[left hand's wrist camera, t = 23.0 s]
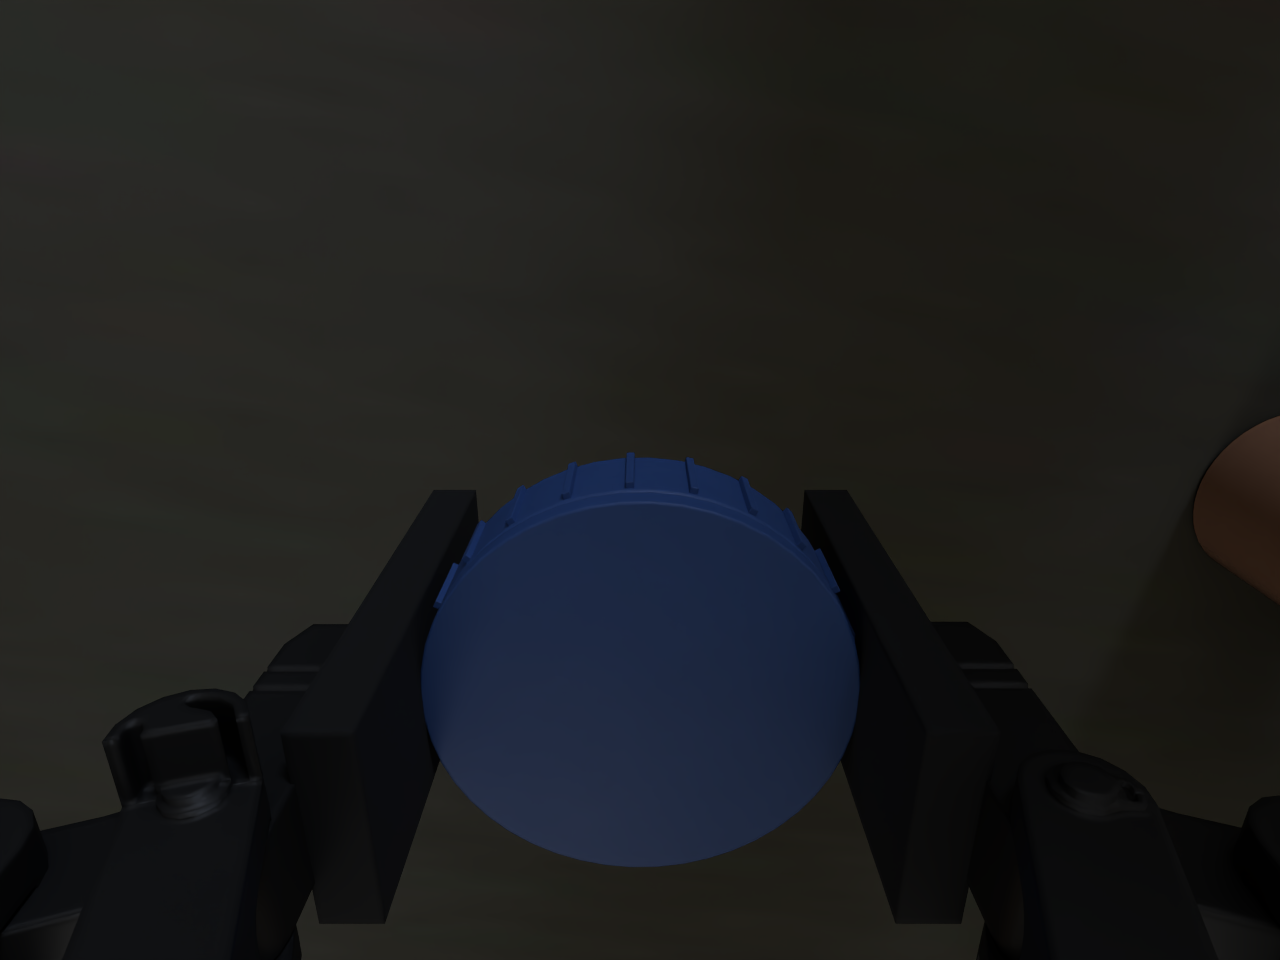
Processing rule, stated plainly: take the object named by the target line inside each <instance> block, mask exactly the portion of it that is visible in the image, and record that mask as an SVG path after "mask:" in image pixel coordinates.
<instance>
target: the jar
mask: <svg viewBox="0 0 1280 960" xmlns="http://www.w3.org/2000/svg"><path fill="white" fill-rule="evenodd" d="M1193 524H1194V529H1195V533H1196V536H1197V538H1198V541H1199V543H1200V545H1201V546H1202V548H1203V550H1204V551H1205V552H1206V553H1207V554H1208V555H1209V557H1211V558H1212V559H1213V560H1214V561H1216V562H1217V563H1218V564H1220V565H1221V566H1223V567H1224V568H1226V569H1227V570H1228V571H1230V572H1231V573H1233V574H1234V575H1236V576H1237V577H1239V578H1240V579H1242V580H1243V581H1244V582H1246V583H1247V584H1249V585H1250V586H1252V587H1253V588H1255V589H1256V590H1258V591H1259V592H1261V593H1262V594H1263V595H1265V596H1266V597H1268V598H1269V599H1271V600H1272V601H1274V602H1275V603H1277V604H1278V605H1279V606H1280V416H1277V417H1274V418H1271V419H1269V420H1266V421H1264V422H1262V423H1260V424H1258V425H1256V426H1254V427H1252V428H1251V429H1249V430H1248V431H1246V432H1244V433H1243V434H1241V435H1240V436H1239V437H1238V438H1236V439H1235V440H1234V441H1232V442H1231V443H1230V444H1229V445H1228V446H1227V447H1226V448H1225V449H1224V450H1223V451H1222V452H1221V453H1220V454H1219V455H1218V457H1217V458H1216V459H1215V460H1214V461H1213V463H1212V464H1211V466H1210V467H1209V468H1208V470H1207V471H1206V473H1205V475H1204V477H1203V479H1202V481H1201V483H1200V485H1199V488H1198V490H1197V493H1196V497H1195V501H1194V508H1193Z"/></svg>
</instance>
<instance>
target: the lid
mask: <svg viewBox="0 0 1280 960" xmlns="http://www.w3.org/2000/svg"><path fill="white" fill-rule="evenodd" d="M838 592H840V589H839V587H838V585H837V583H836V581H835V578H834V576H833V574H832V572H831V570H830V568H829V566H828V563H827V561H826V559H825V557H824V555H823V553H822V551H821V549H820V548H819V549H817V550H815V551H814V549H813V547H812V546H811V544H810V542H809V540H808V539H807V538H806V537H805V535H804V534H803V533H802V532H801V530H800V529H799V527H798V525H797V523H796V521H795V518H794V516H793V514H792V512H791V511H790V510H789V509H788V508H786V509H785V510H784V511H782V510H781V509H780V508H779V507H778V506H777V505H776V504H775V503H773V502H772V501H770V500H769V499H767V498H766V497H765V496H763V495H762V494H760V493H759V492H758V491H756V490H755V489H753V488H751V487H750V485H749V482H748V479H746V478H744V477H743V476H741V477H740V479H739V480H736V479H734V478H732V477H731V476H728V475H725V474H723V473H720V472H717V471H715V470H712V469H709V468H706V467H703V466H699V465H695V464H694V459H693V458H689V457H686V460H685V462H682V461H677V460H667V459H658V458H635V454H634V453H627V458H620V459H613V460H606V461H599V462H593V463H590V464H586V465H582V466H579V467H578V466H577V464H576V462H573V463H570V464H569V465H568V469H567V470H566V471H563V472H561V473H558V474H556V475H553V476H551V477H549V478H546V479H544V480H542V481H540V482H539V483H537V484H535V485H533V486H532V487H530V488H528V489H526V488H525V487H524V486H523V485H522V486H521V487H519V488H518V489H517V491H516V494H515V496H514V498H513V499H512V500H511V501H509V502H508V503H507V504H505V505H504V506H503V507H502V508H500V509H499V510H498V511H497V512H496V513H495V514H494V515H493V517H492V518H491V519H490V520H489V521H488V522H487V523H485V522H483V521H482V520H481V521H480V522H479V523H478V524H477V526H476V529H475V531H474V533H473V535H472V537H471V540H470V542H469V544H468V546H467V548H466V551H465V553H464V555H463V557H462V559H461V561H460V563H459V565H458V564H456V563H453V565H452V567H451V569H450V571H449V573H448V575H447V578H446V580H445V582H444V584H443V586H442V588H441V590H440V592H439V595H438V597H437V599H436V601H435V603H434V606H433V607H434V608H437V609H438V611H437V613H436V616H435V618H434V620H433V623H432V625H431V628H430V631H429V634H428V637H427V640H426V643H425V647H424V652H423V658H422V664H421V692H422V701H423V709H424V717H425V723H426V726H427V729H428V733H429V736H430V739H431V742H432V744H433V746H434V748H435V750H436V752H437V754H438V757H439V759H440V761H441V763H442V764H443V766H444V767H445V769H446V770H447V772H448V773H449V775H450V776H451V778H452V779H453V781H454V782H455V783H456V785H457V786H458V787H459V788H460V789H461V790H462V792H463V793H464V794H465V795H466V796H467V797H468V798H469V800H470V801H471V802H473V803H474V804H475V805H476V806H477V807H478V808H479V809H480V810H482V811H483V812H484V813H485V814H486V815H487V816H488V817H490V818H491V819H492V820H494V821H495V822H497V823H498V824H500V825H501V826H502V827H504V828H505V829H507V830H508V831H510V832H512V833H513V834H515V835H517V836H519V837H521V838H523V839H525V840H526V841H528V842H530V843H532V844H534V845H537V846H539V847H542V848H544V849H547V850H549V851H552V852H554V853H557V854H560V855H564V856H567V857H571V858H574V859H578V860H582V861H587V862H593V863H598V864H603V865H613V866H625V867H659V866H668V865H677V864H684V863H689V862H694V861H698V860H703V859H708V858H711V857H714V856H717V855H720V854H723V853H726V852H729V851H732V850H735V849H737V848H739V847H741V846H744V845H746V844H748V843H750V842H753V841H755V840H757V839H759V838H760V837H762V836H764V835H765V834H767V833H769V832H771V831H772V830H774V829H776V828H777V827H779V826H780V825H782V824H783V823H784V822H786V821H787V820H788V819H790V818H791V817H792V816H794V815H795V814H796V813H798V812H799V811H800V810H801V809H802V808H803V807H804V806H805V805H806V804H807V803H808V802H809V801H810V800H811V799H812V798H813V797H814V796H815V795H816V794H817V793H818V792H819V790H820V789H821V788H822V787H823V785H824V784H825V783H826V782H827V780H828V779H829V778H830V777H831V775H832V773H833V772H834V770H835V768H836V767H837V765H838V763H839V762H840V760H841V759H842V757H843V755H844V752H845V750H846V748H847V745H848V743H849V741H850V738H851V736H852V733H853V729H854V725H855V721H856V714H857V706H858V698H859V689H860V665H859V659H858V654H857V649H856V645H855V633H854V630H853V628H852V626H851V624H850V622H849V620H848V617H847V615H846V613H845V611H844V609H843V606H842V604H841V602H840V600H839V598H838V595H837V594H835V593H838Z"/></svg>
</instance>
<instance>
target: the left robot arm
mask: <svg viewBox="0 0 1280 960" xmlns="http://www.w3.org/2000/svg"><path fill="white" fill-rule="evenodd" d="M478 523H479V522H478V510H477V498H476V490H434V491H433V492H432V494H431V495H430V497H429V498H428V500H427V502H426V503H425V505H424V506H423V508H422V510H421V511H420V513H419V514H418V516H417V517H416V519H415V521H414V522H413V524H412V525H411V527H410V528H409V530H408V532H407V533H406V535H405V536H404V538H403V539H402V541H401V543H400V544H399V546H398V547H397V549H396V550H395V552H394V554H393V555H392V557H391V558H390V560H389V561H388V563H387V565H386V566H385V568H384V569H383V571H382V573H381V574H380V576H379V577H378V579H377V580H376V582H375V584H374V585H373V587H372V588H371V590H370V591H369V593H368V595H367V596H366V598H365V599H364V601H363V602H362V604H361V606H360V607H359V609H358V610H357V612H356V613H355V615H354V617H353V618H352V620H351V621H350V623H349V624H313V625H312V626H310V627H309V628H307V629H306V630H304V631H303V632H302V633H300V634H299V635H297V636H296V637H294V638H293V639H291V640H290V641H288V642H287V643H286V644H284V646H283V647H282V648H281V650H280V651H279V652H278V654H277V655H276V656H275V658H274V659H273V660H272V662H271V663H270V665H269V666H268V670H267V672H264V673H263V674H262V675H261V677H260V678H259V679H258V681H257V682H256V683H255V685H254V686H253V691H249V693H248V694H247V695H246V697H245V698H244V700H243V699H242V698H241V697H240V696H238V695H237V694H236V693H234V692H229V691H224V690H220V689H201V690H189V691H185V692H181V693H178V694H174V695H170V696H166V697H163V698H160V699H158V700H156V701H154V702H152V703H149V704H147V705H145V706H143V707H141V708H139V709H137V710H135V711H134V712H132V713H131V714H130V715H128V716H127V717H125V718H124V719H123V720H121V721H120V722H118V723H117V724H116V725H115V726H114V727H113V728H112V730H111V731H110V732H109V734H108V735H107V736H106V737H105V739H104V740H103V741H102V744H103V747H104V750H105V753H106V756H107V760H108V763H109V766H110V769H111V773H112V776H113V779H114V782H115V785H116V789H117V792H118V795H119V798H120V802H121V805H122V809H121V811H120V812H118V813H114V814H111V815H107V816H104V817H100V818H95V819H91V820H86V821H82V822H78V823H73V824H69V825H64V826H60V827H56V828H51V829H47V830H42V831H40V829H39V827H38V824H37V821H36V818H35V816H34V813H33V810H31V809H30V808H29V807H27V806H26V805H25V804H23V803H22V802H21V801H17V800H8V799H0V960H301V956H302V954H301V948H300V941H299V936H298V931H297V927H296V923H297V921H298V919H299V917H300V914H301V912H302V910H303V908H304V906H305V903H306V901H307V899H308V897H309V895H310V892H311V890H313V895H314V900H315V905H316V910H317V915H318V919H319V924H385V921H386V918H387V915H388V913H389V910H390V907H391V904H392V901H393V898H394V895H395V892H396V889H397V886H398V883H399V880H400V877H401V874H402V871H403V868H404V865H405V862H406V859H407V856H408V853H409V850H410V847H411V844H412V841H413V838H414V835H415V832H416V829H417V826H418V823H419V820H420V817H421V814H422V811H423V809H424V806H425V803H426V800H427V797H428V794H429V791H430V788H431V785H432V782H433V779H434V776H435V773H436V770H437V767H438V764H439V761H440V759H439V757H438V754H437V752H436V750H435V748H434V746H433V744H432V742H431V739H430V736H429V733H428V729H427V726H426V723H425V717H424V709H423V701H422V692H421V664H422V658H423V652H424V647H425V643H426V640H427V637H428V634H429V631H430V628H431V625H432V623H433V620H434V618H435V616H436V613H437V611H438V609H437V608H434V607H433V606H434V603H435V601H436V599H437V597H438V595H439V592H440V590H441V588H442V586H443V584H444V582H445V580H446V578H447V575H448V573H449V571H450V569H451V567H452V565H453V563H456V564H458V565H459V563H460V561H461V559H462V557H463V555H464V553H465V551H466V548H467V546H468V544H469V542H470V540H471V537H472V535H473V533H474V531H475V529H476V526H477V524H478ZM801 532H802V533H803V534H804V535H805V537H806V538H807V539H808V540H809V542H810V544H811V546H812V547H813V549H814V551H815V550H817V549H819V548H820V549H821V551H822V553H823V555H824V557H825V559H826V561H827V563H828V566H829V568H830V570H831V572H832V574H833V576H834V578H835V581H836V583H837V585H838V587H839V589H840V592H838V593H835V594H837V595H838V598H839V600H840V602H841V604H842V606H843V609H844V611H845V613H846V615H847V617H848V620H849V622H850V624H851V626H852V628H853V630H854V633H855V645H856V649H857V654H858V659H859V665H860V689H859V698H858V706H857V714H856V721H855V725H854V729H853V733H852V736H851V738H850V741H849V743H848V745H847V748H846V750H845V752H844V755H843V757H842V759H841V763H842V766H843V768H844V771H845V774H846V777H847V780H848V783H849V786H850V789H851V792H852V795H853V798H854V801H855V804H856V807H857V810H858V813H859V816H860V819H861V822H862V825H863V828H864V831H865V834H866V837H867V840H868V843H869V846H870V849H871V852H872V855H873V858H874V861H875V864H876V867H877V869H878V872H879V875H880V878H881V881H882V884H883V887H884V890H885V893H886V896H887V899H888V902H889V905H890V908H891V911H892V914H893V917H894V920H895V923H896V924H961V922H962V917H963V912H964V907H965V902H966V898H967V893H968V888H969V887H970V890H971V892H972V894H973V896H974V898H975V901H976V903H977V905H978V907H979V909H980V912H981V914H982V916H983V918H984V920H985V922H984V927H983V931H982V936H981V940H980V945H979V949H978V954H977V958H976V960H1280V796H1272V797H1263V798H1261V799H1259V800H1258V801H1257V802H1255V803H1254V804H1253V805H1251V806H1250V807H1249V809H1248V812H1247V815H1246V818H1245V820H1244V823H1243V826H1242V828H1240V827H1235V826H1231V825H1226V824H1222V823H1217V822H1213V821H1209V820H1204V819H1200V818H1195V817H1191V816H1186V815H1182V814H1178V813H1174V812H1171V811H1167V810H1164V809H1161V808H1159V807H1158V805H1157V804H1156V802H1155V801H1154V799H1153V798H1152V797H1151V795H1150V794H1149V792H1148V791H1147V789H1146V788H1145V787H1144V786H1143V785H1142V784H1140V783H1139V782H1138V781H1137V780H1135V779H1134V778H1133V777H1132V776H1131V775H1129V774H1128V773H1127V772H1126V771H1124V770H1122V769H1120V768H1118V767H1116V766H1114V765H1112V764H1110V763H1108V762H1106V761H1105V760H1103V759H1101V758H1097V757H1094V756H1091V755H1087V754H1084V753H1080V752H1079V751H1078V750H1077V749H1076V747H1075V746H1074V745H1073V743H1072V742H1071V741H1070V739H1069V738H1068V737H1067V735H1066V734H1065V733H1064V731H1063V730H1062V729H1061V727H1060V726H1059V725H1058V723H1057V722H1056V721H1055V719H1054V718H1053V717H1052V715H1051V714H1050V713H1049V711H1048V710H1047V709H1046V707H1045V706H1044V705H1043V703H1042V702H1041V701H1040V699H1039V698H1038V697H1037V695H1036V694H1035V693H1034V691H1033V690H1032V689H1028V683H1027V682H1026V681H1025V679H1024V678H1023V677H1022V675H1021V674H1020V673H1019V671H1018V670H1017V669H1014V667H1013V663H1012V662H1011V661H1010V659H1009V658H1008V657H1007V655H1006V654H1005V652H1004V651H1003V650H1002V648H1001V647H1000V646H999V644H998V643H997V642H996V641H995V640H993V639H992V638H990V637H989V636H987V635H986V634H984V633H983V632H982V631H980V630H979V629H977V628H976V627H974V626H973V625H971V624H970V623H968V622H930V620H929V619H928V617H927V616H926V614H925V613H924V611H923V609H922V608H921V606H920V605H919V603H918V602H917V600H916V598H915V597H914V595H913V594H912V592H911V591H910V589H909V587H908V586H907V584H906V583H905V581H904V580H903V578H902V576H901V575H900V573H899V572H898V570H897V569H896V567H895V565H894V564H893V562H892V561H891V559H890V558H889V556H888V554H887V553H886V551H885V550H884V548H883V546H882V545H881V543H880V542H879V540H878V539H877V537H876V535H875V534H874V532H873V531H872V529H871V528H870V526H869V524H868V523H867V521H866V520H865V518H864V517H863V515H862V513H861V512H860V510H859V509H858V507H857V506H856V504H855V502H854V501H853V499H852V498H851V496H850V495H849V493H848V491H847V490H805V492H804V504H803V516H802V528H801Z"/></svg>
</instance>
